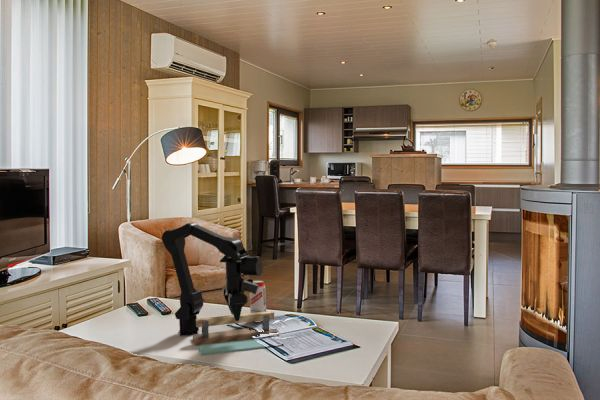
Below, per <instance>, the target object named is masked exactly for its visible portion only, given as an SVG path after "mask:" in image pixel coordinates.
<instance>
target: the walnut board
mask: <svg viewBox="0 0 600 400" xmlns="http://www.w3.org/2000/svg"><path fill="white" fill-rule="evenodd" d="M247 329H248V328H242V329H232V330H225V331H224V330H223V331H214V332H213V331H212V332H208V333H209V338H203V337H202V333H198V334H192V340H193V342H194V343H193V344H194V346H199V345H206V344H215V343H223V342H232V341H240V340H249V339H252V336H257V335H260V334H269V333H277V332H279V333H280V331H279V330H278V329H277V328H276V329H270V330H269V331H264V332H263V331H262V332H258V331H255V330H251V331H250V330H247Z"/></svg>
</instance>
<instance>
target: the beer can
mask: <svg viewBox="0 0 600 400" xmlns="http://www.w3.org/2000/svg"><path fill="white" fill-rule="evenodd" d="M252 280H253V283H255V284H257V285H258V289H257V292H256V294H253V293H251V292H249V310H250V312H249V313H258V312H267V302H266V301H267V298H266V297H267V296H266V284H265V281H264V280H262V279H252Z"/></svg>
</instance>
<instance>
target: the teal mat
mask: <svg viewBox="0 0 600 400" xmlns="http://www.w3.org/2000/svg"><path fill="white" fill-rule="evenodd" d="M258 349H259V350H260V349H265V346H264V345H262V344H260V343H257V342H255V341H254V340H253V339H248V340H239V341H231V342H222V343H214V344H205V345H198V350H199V352H200V356H209V355H218V354H223V353H224V354H225V353H226V354H227V353H233V352H241V351H251V350H258Z"/></svg>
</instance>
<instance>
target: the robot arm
mask: <svg viewBox="0 0 600 400" xmlns="http://www.w3.org/2000/svg"><path fill="white" fill-rule="evenodd" d="M189 236H192V237H194V238H196V239H199V240H201V241H203V242H205V243H207V244H209V245H211V246H213V247H215V248H216V249H217V251H218V252H220V253H221V254H222V255H223V256H222V258H221V259H219V263H225V277H224V278H225V285H223V287H222V294H223V298H224V300H225V301H226V304H227V306H228V309H229V311H230V314H231V315H234V318H235V320H236V321H239V318H240V314H242V309H243V307H244V306H245V305H247V304H248V298H249V297H248V296H247V295H246V294H245V292H247V293H250V292H251V293H253V294H256V292H257V289H258V285H257V284H255V283H253V280H254V279H252V278H249V277H248V278H247V279H246V280H245V279H244V278H243V276H250V277H253V276H254V277H260V276H261V275H262V273H263V268H264V266H263V262H262V260H261V259H260V258H261V257H260V256H250V253H248V251H247V250H246V248H245V247H244V244H243V241H242V240H240V239H239V238H234V237H230V236H223V235H220V234H219V233H216V232H214V231H212V230H209V229H207V228H206V227H203V226H202V225H199V224H197V223H196V222H189V223H187V222H186V223H185V224H184V225H181V226H180V227H177V228H173V229H168V230H165V231H164V232H163V234H162V235H161V241H162V243H163V247H164V248H165V250H166V251H167V252H168V253H169V254H170V256H171V259H172V262H173V263H172V264H173V266H174V270H175V274H176V278H177V281H178V285H179V289H180V297H179V303H180V304H179V306H180V307H179V308H178V310H176V311H175V313H174V316H175V318H176V320H178V324H179V330H178V331H179V336H180V337H181V336H190V335H192V336H193V335H195V334H199V330H200V329H199V328H200V327H196V319H198V317H197V316H198V315H200V312H201V310H202V308H203V306H204V302H205V299H204V297H203V294H202V292H203V291H201V290H197V288H195V286H194V282H193V279H192V274H191V271H190V268H189V265H188V261H187V258H186V254H185V248H186V247H185V246H186V238H189Z"/></svg>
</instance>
